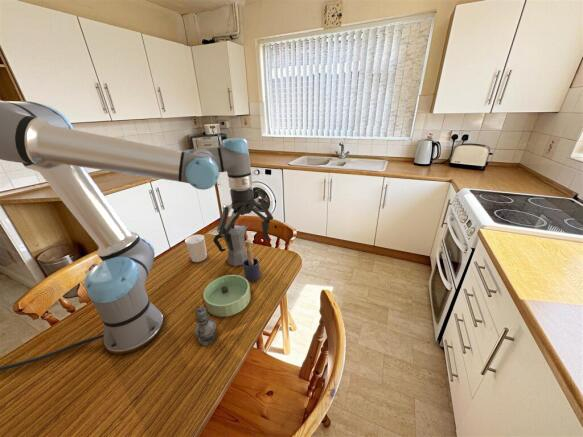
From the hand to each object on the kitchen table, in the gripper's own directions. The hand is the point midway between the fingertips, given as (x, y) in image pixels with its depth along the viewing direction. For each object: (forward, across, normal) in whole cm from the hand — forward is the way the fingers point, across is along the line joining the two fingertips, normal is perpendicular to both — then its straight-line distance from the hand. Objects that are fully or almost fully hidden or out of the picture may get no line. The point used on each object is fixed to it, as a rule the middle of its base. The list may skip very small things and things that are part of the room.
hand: (249, 243), depth 87 cm
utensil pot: (+16, 0, 0) cm, 16 cm away
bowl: (+16, -12, -7) cm, 21 cm away
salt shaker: (+16, -22, -18) cm, 33 cm away
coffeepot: (+16, -2, +14) cm, 21 cm away
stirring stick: (+15, 0, 0) cm, 15 cm away
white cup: (+16, -15, +26) cm, 34 cm away
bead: (+14, -12, -3) cm, 19 cm away
